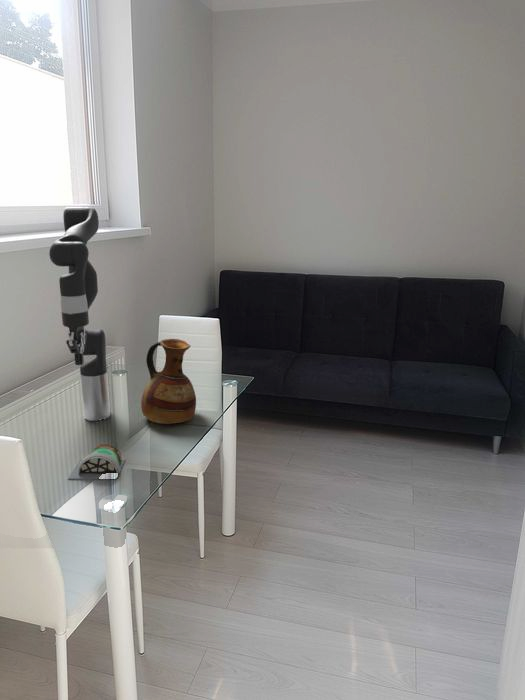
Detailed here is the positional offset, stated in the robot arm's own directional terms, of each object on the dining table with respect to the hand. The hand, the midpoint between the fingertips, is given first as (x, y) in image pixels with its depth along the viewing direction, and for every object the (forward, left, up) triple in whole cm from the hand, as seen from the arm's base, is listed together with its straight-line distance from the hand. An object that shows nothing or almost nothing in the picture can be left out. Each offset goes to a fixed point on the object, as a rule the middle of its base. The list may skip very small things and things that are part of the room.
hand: (79, 364), depth 163 cm
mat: (+13, +7, -29) cm, 33 cm away
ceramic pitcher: (-24, +23, -29) cm, 44 cm away
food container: (+7, +8, -26) cm, 28 cm away
